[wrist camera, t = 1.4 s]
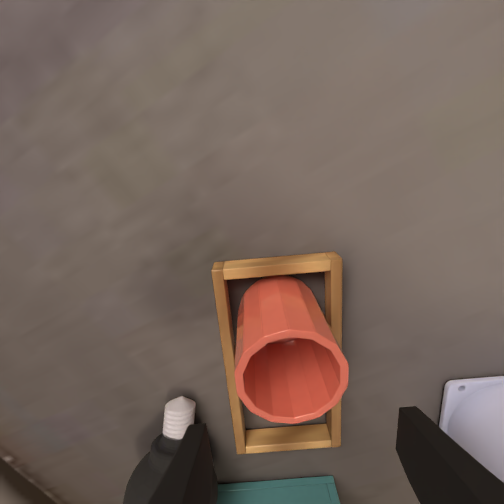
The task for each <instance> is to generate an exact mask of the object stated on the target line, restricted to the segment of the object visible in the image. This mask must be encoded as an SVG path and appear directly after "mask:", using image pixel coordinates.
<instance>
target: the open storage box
mask: <svg viewBox="0 0 504 504" xmlns="http://www.w3.org/2000/svg"><path fill="white" fill-rule="evenodd" d="M216 504H340V501H339V497H338V493H337V490H336V486H335V482H334V478H333V476H321V477H308V478H295V479H282V480H270V481H257V482H244V483H231V484H218V497H217V503H216Z"/></svg>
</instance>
